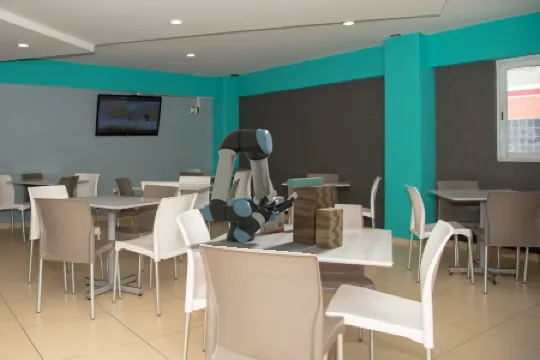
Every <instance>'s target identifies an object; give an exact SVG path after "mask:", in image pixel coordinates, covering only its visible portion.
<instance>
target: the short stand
mask: <svg viewBox="0 0 540 360" xmlns="http://www.w3.org/2000/svg"><path fill="white" fill-rule="evenodd" d="M343 227H344V208H338V207H335V208H324V209H316V245H315V247H316V248H321V249H325V248H326V250H330V248H331V249H335V248H338V247H343V241H344V240H343V236H344V235H343V234H344V231H343V230H344V229H343Z"/></svg>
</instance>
